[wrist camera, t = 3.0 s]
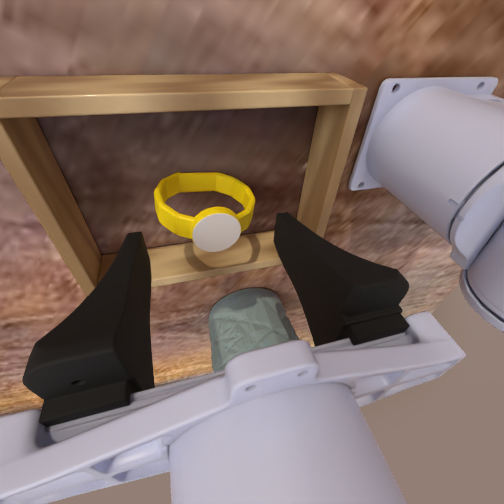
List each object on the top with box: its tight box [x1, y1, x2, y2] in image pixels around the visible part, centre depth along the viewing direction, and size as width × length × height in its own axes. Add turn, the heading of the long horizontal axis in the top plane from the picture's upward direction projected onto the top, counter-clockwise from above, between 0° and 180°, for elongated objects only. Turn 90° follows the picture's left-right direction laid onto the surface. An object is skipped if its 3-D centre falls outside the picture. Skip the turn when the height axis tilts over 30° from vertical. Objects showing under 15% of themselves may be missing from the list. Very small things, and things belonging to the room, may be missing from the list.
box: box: [0, 73, 368, 297], centre depth 18 cm, size 18×13×4 cm
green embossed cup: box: [209, 288, 299, 372], centre depth 28 cm, size 10×10×12 cm
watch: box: [154, 172, 255, 252], centre depth 17 cm, size 6×3×6 cm, turn 80°
